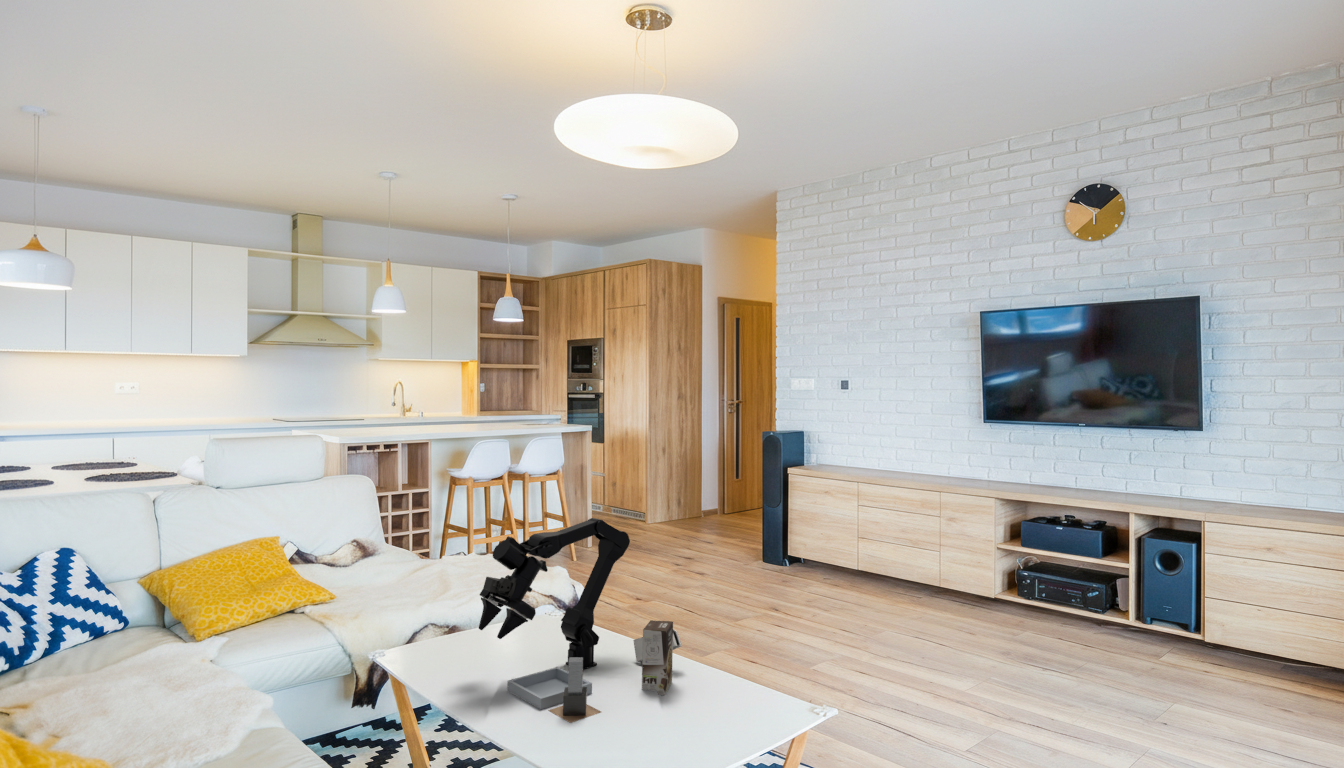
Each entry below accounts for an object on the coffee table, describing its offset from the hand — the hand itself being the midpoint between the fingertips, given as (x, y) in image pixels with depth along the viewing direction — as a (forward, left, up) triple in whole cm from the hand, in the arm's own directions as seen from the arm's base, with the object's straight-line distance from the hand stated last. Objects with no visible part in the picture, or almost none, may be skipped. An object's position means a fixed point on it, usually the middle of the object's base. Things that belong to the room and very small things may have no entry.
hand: (489, 633), depth 194 cm
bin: (-10, +13, -14) cm, 22 cm away
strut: (-8, +26, -13) cm, 30 cm away
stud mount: (-8, +26, -14) cm, 31 cm away
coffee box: (-34, +26, -15) cm, 45 cm away
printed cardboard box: (-42, +9, -13) cm, 45 cm away
